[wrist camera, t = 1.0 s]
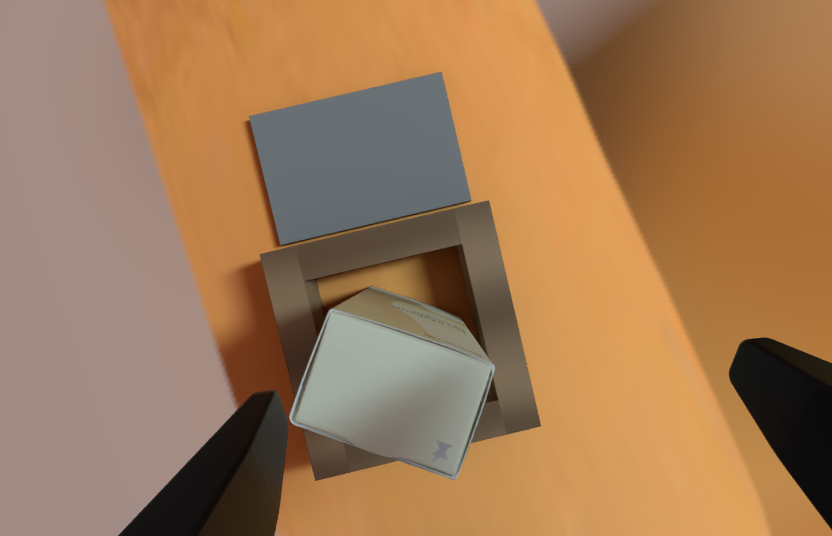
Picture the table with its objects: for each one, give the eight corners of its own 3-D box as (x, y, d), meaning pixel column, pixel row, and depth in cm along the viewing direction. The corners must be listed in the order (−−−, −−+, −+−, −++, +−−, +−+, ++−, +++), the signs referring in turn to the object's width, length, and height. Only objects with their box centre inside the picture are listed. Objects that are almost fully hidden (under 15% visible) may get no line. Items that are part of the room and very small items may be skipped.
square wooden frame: (525, 406, 26) (540, 426, 23) (326, 455, 26) (315, 480, 23) (479, 207, 26) (488, 200, 23) (276, 254, 26) (259, 254, 23)
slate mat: (470, 201, 26) (471, 200, 25) (283, 245, 26) (280, 245, 25) (440, 75, 26) (441, 71, 25) (252, 119, 25) (248, 116, 25)
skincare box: (462, 315, 26) (509, 366, 14) (439, 380, 26) (465, 487, 14) (365, 282, 26) (326, 303, 14) (343, 347, 26) (283, 426, 14)
